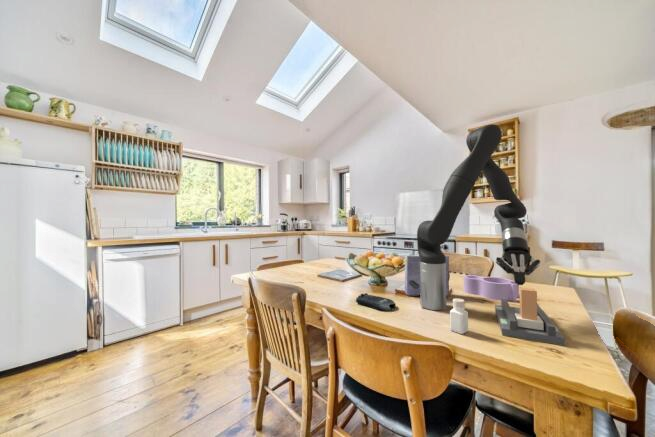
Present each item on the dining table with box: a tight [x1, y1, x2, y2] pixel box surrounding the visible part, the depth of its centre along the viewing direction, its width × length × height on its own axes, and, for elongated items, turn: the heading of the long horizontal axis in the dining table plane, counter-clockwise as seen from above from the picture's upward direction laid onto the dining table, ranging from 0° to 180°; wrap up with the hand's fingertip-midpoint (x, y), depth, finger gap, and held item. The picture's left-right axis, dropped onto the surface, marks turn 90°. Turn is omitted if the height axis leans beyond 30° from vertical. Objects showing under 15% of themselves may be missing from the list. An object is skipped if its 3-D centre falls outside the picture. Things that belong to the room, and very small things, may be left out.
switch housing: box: [494, 298, 566, 347], centre depth 82 cm, size 22×14×5 cm, turn 152°
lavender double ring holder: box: [462, 274, 520, 303], centre depth 113 cm, size 20×12×7 cm, turn 45°
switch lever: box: [515, 286, 544, 330], centre depth 77 cm, size 5×6×11 cm
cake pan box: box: [404, 254, 451, 297], centre depth 115 cm, size 19×5×18 cm, turn 85°
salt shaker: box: [449, 298, 469, 335], centre depth 79 cm, size 4×4×10 cm
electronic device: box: [355, 292, 396, 312], centre depth 103 cm, size 9×6×15 cm
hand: (520, 283), depth 85 cm, fingers closed
